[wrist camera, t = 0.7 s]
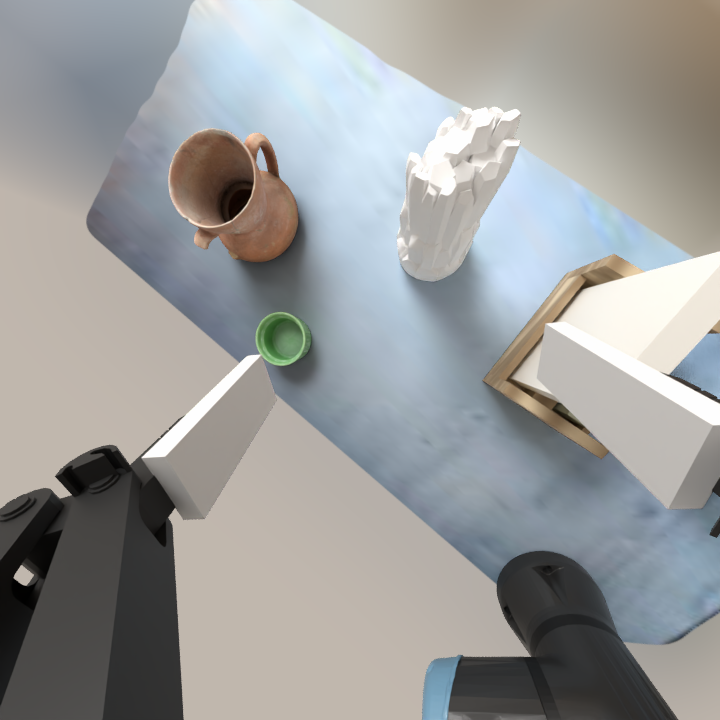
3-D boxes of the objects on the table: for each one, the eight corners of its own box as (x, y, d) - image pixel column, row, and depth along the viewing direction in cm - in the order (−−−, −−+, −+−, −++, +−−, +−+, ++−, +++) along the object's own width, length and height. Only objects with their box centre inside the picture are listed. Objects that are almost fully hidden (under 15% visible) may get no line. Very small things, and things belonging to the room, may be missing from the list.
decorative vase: (391, 275, 45) (371, 200, 20) (405, 208, 44) (401, 42, 19) (458, 286, 43) (524, 218, 19) (474, 217, 42) (568, 46, 17)
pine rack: (652, 325, 39) (730, 322, 29) (559, 432, 42) (601, 459, 33) (566, 273, 40) (614, 253, 31) (482, 380, 44) (502, 392, 34)
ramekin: (298, 304, 48) (287, 301, 44) (323, 347, 48) (315, 348, 44) (259, 331, 50) (245, 330, 46) (284, 372, 50) (272, 375, 45)
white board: (587, 301, 39) (770, 265, 19) (519, 385, 41) (619, 428, 22) (571, 292, 39) (736, 246, 19) (504, 375, 42) (591, 409, 22)
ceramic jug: (272, 288, 49) (219, 267, 35) (211, 244, 50) (137, 207, 36) (327, 199, 46) (294, 137, 32) (261, 155, 47) (202, 77, 33)
